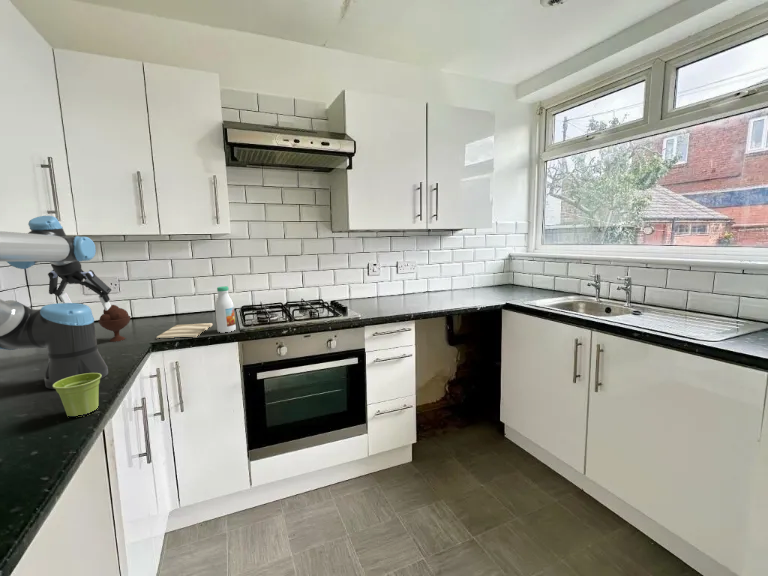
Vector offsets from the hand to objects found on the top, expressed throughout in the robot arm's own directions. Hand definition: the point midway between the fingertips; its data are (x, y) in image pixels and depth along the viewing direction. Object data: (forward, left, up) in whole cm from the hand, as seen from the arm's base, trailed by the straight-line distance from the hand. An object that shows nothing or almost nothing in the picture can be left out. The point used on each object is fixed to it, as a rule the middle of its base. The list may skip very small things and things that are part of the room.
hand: (89, 308), depth 141 cm
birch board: (+22, -25, -17) cm, 37 cm away
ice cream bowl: (+15, 0, -17) cm, 23 cm away
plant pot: (-54, -29, -17) cm, 64 cm away
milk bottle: (+20, -43, -17) cm, 50 cm away
